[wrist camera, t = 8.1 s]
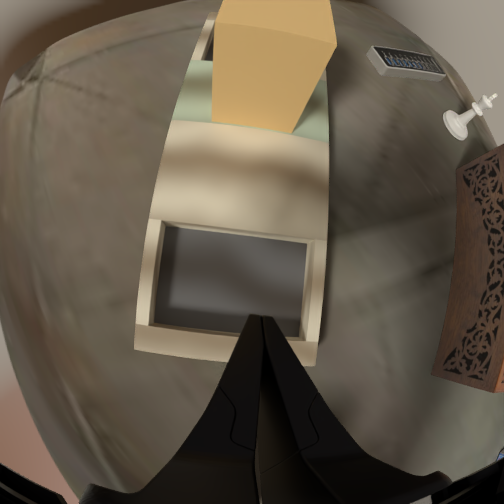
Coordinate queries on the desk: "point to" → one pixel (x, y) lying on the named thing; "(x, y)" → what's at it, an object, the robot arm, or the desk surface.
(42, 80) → the desk surface
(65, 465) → the desk surface
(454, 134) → the chess piece
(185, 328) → the trap board
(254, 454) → the robot arm
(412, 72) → the multiport hub
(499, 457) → the ink cartridge box
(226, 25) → the ochre block
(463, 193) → the tissue box cover
